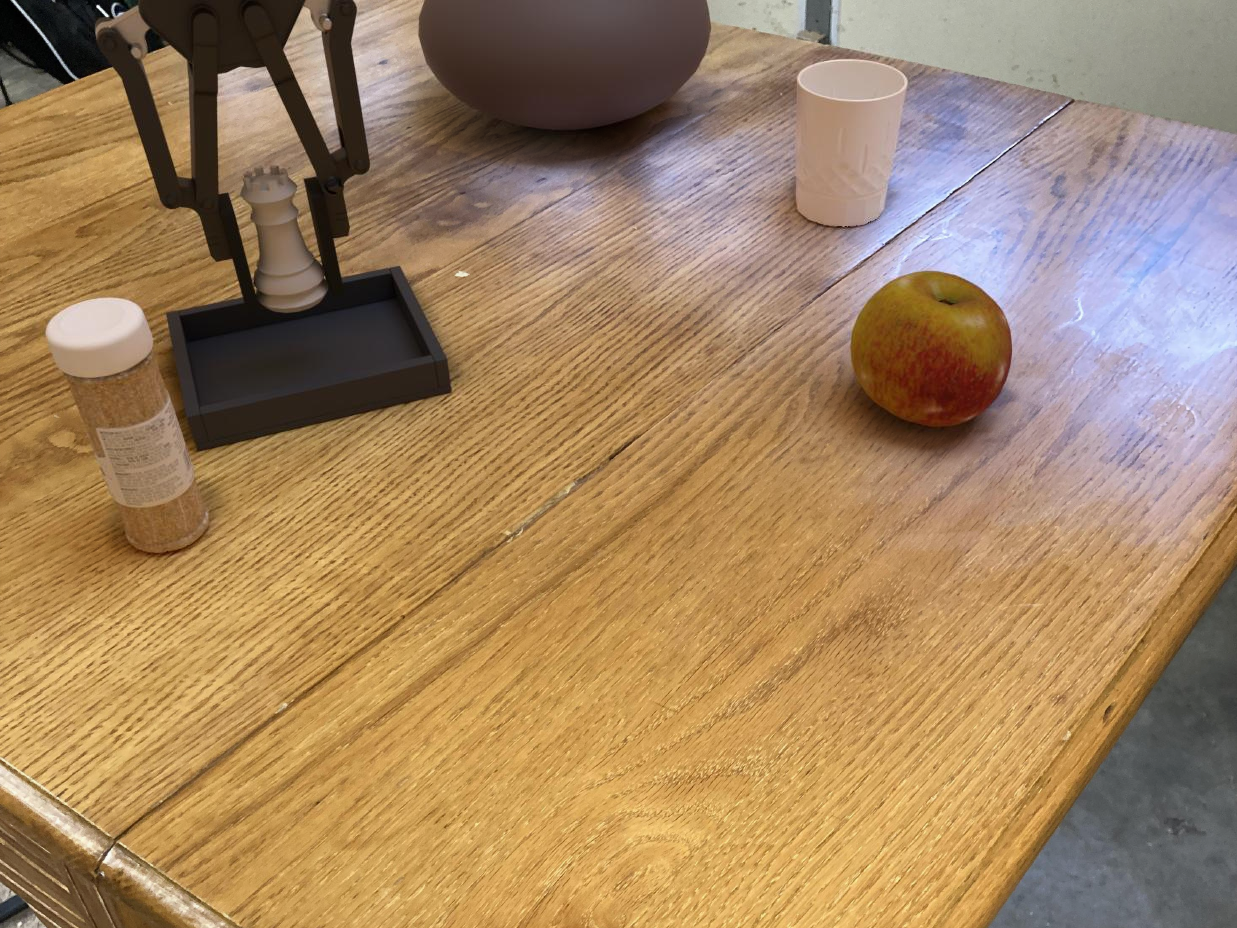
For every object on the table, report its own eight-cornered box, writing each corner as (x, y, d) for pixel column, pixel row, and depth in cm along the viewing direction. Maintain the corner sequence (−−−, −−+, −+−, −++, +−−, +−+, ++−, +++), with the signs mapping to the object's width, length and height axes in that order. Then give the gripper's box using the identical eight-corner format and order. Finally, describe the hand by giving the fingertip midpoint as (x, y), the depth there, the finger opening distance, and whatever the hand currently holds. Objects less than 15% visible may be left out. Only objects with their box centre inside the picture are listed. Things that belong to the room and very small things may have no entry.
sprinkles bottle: (133, 508, 68) (52, 298, 59) (216, 498, 69) (148, 289, 60) (121, 563, 65) (33, 349, 56) (209, 551, 65) (136, 338, 56)
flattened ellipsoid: (518, 47, 121) (504, -118, 111) (751, 84, 113) (758, -90, 103) (374, 141, 105) (343, -42, 95) (634, 194, 96) (630, -1, 86)
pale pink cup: (780, 226, 92) (789, 96, 85) (795, 181, 97) (805, 55, 91) (886, 236, 90) (903, 104, 84) (895, 190, 96) (911, 63, 89)
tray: (197, 451, 72) (186, 417, 70) (175, 345, 81) (165, 312, 79) (452, 392, 76) (447, 358, 74) (405, 297, 85) (399, 265, 83)
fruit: (1033, 419, 73) (1061, 303, 67) (918, 471, 69) (938, 352, 64) (924, 346, 79) (943, 234, 74) (814, 390, 76) (825, 276, 70)
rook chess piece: (252, 286, 76) (221, 165, 71) (323, 273, 77) (298, 152, 72) (262, 321, 73) (229, 197, 68) (336, 307, 74) (310, 183, 69)
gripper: (3, -85, 54) (151, 355, 70) (386, -129, 59) (446, 292, 74) (3, -123, 60) (141, 293, 75) (354, -161, 64) (416, 239, 80)
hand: (292, 292), depth 75 cm, fingers closed on rook chess piece, 4 cm apart
